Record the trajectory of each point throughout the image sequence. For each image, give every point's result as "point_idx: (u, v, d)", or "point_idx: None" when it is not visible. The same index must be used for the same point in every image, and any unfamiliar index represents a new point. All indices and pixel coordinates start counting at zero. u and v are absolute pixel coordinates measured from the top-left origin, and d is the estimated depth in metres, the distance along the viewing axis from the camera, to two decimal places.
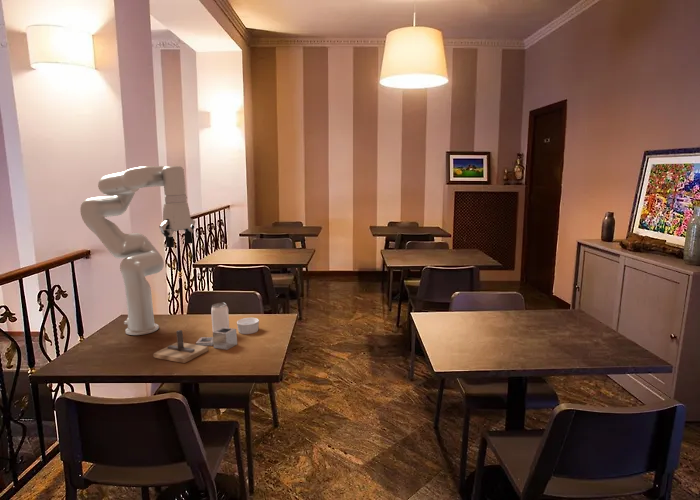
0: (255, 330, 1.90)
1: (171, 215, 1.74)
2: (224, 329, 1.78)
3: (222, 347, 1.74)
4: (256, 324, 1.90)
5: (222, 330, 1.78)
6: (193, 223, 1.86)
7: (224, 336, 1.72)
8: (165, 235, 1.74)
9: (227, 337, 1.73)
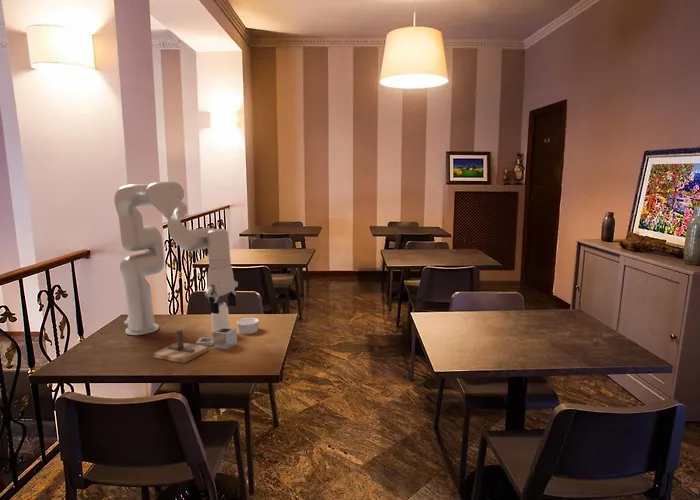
0: (255, 330, 1.90)
1: (216, 281, 1.67)
2: (224, 329, 1.78)
3: (222, 347, 1.74)
4: (256, 324, 1.90)
5: (222, 330, 1.78)
6: (236, 285, 1.79)
7: (224, 336, 1.72)
8: (210, 301, 1.68)
9: (227, 337, 1.73)
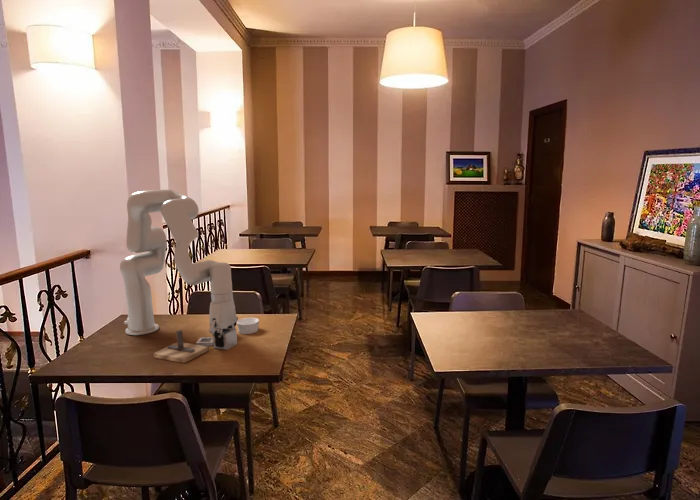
0: (255, 330, 1.90)
1: (218, 315, 1.70)
2: (224, 329, 1.78)
3: None
4: (256, 324, 1.90)
5: (222, 330, 1.78)
6: (236, 320, 1.81)
7: (224, 335, 1.72)
8: (215, 336, 1.72)
9: (227, 337, 1.73)
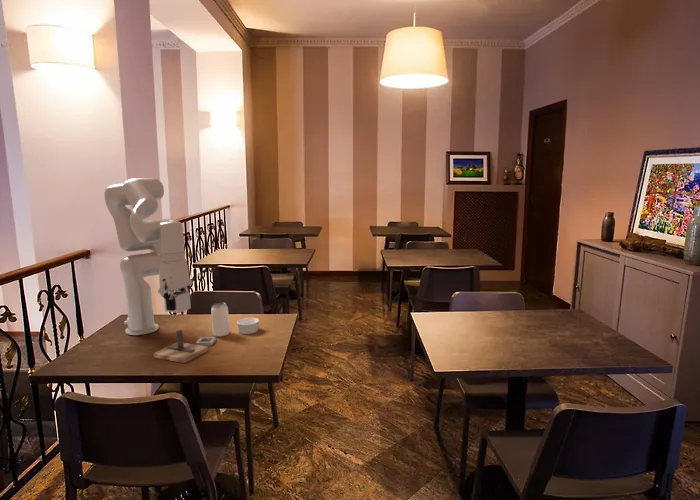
0: (255, 330, 1.90)
1: (168, 275, 1.60)
2: (177, 292, 1.69)
3: (174, 310, 1.64)
4: (256, 324, 1.90)
5: (175, 293, 1.68)
6: (190, 283, 1.72)
7: (175, 298, 1.63)
8: (165, 298, 1.62)
9: (179, 299, 1.63)
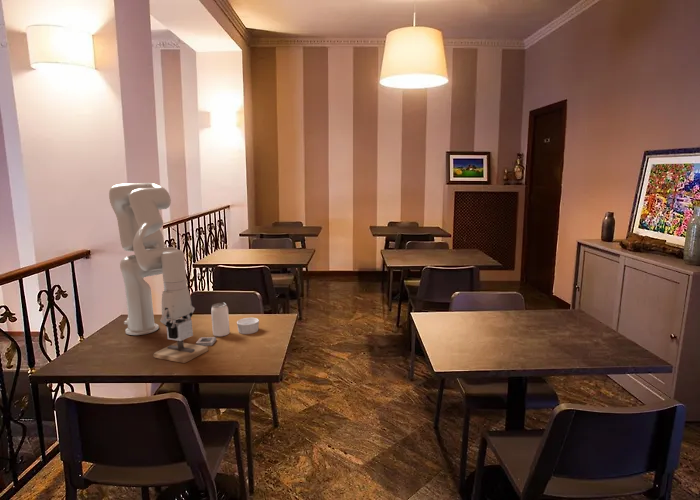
0: (255, 330, 1.90)
1: (170, 304, 1.62)
2: (179, 320, 1.70)
3: (176, 338, 1.65)
4: (256, 324, 1.90)
5: (177, 321, 1.70)
6: (192, 310, 1.73)
7: (177, 326, 1.64)
8: (167, 326, 1.64)
9: (181, 328, 1.65)
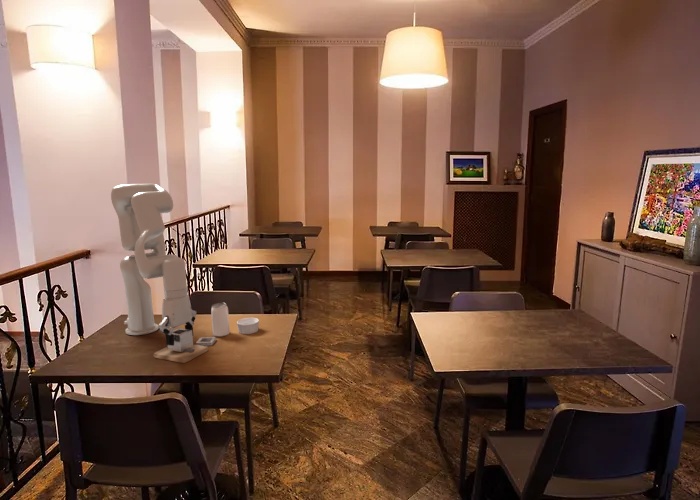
0: (255, 330, 1.90)
1: (171, 312, 1.62)
2: None
3: (176, 349, 1.66)
4: (256, 324, 1.90)
5: None
6: (194, 314, 1.74)
7: (178, 337, 1.65)
8: (165, 333, 1.63)
9: (181, 338, 1.66)
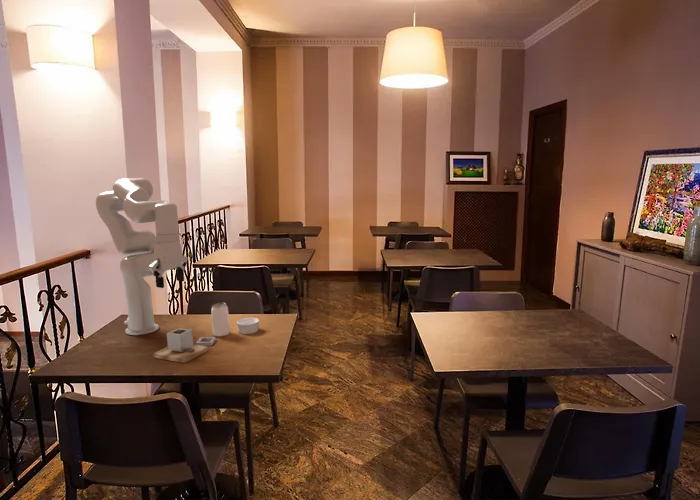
0: (255, 330, 1.90)
1: (162, 255, 1.66)
2: None
3: (176, 349, 1.66)
4: (256, 324, 1.90)
5: None
6: (185, 260, 1.79)
7: (178, 337, 1.65)
8: (155, 275, 1.67)
9: (181, 338, 1.66)
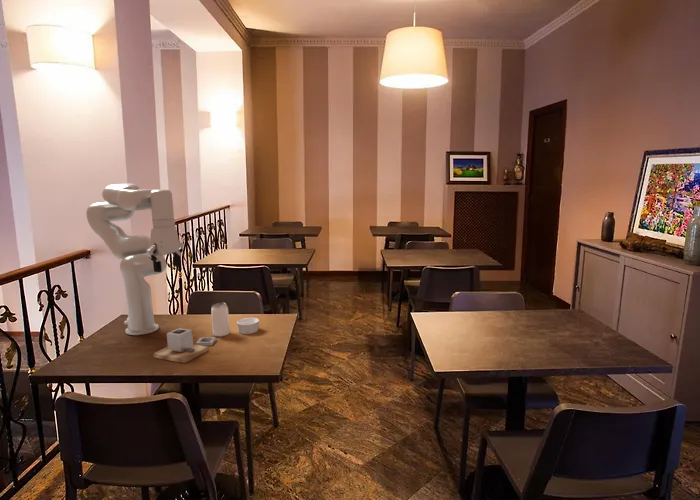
0: (255, 330, 1.90)
1: (158, 240, 1.71)
2: None
3: (176, 349, 1.66)
4: (256, 324, 1.90)
5: None
6: (182, 246, 1.83)
7: (178, 337, 1.65)
8: (152, 260, 1.72)
9: (181, 338, 1.66)
